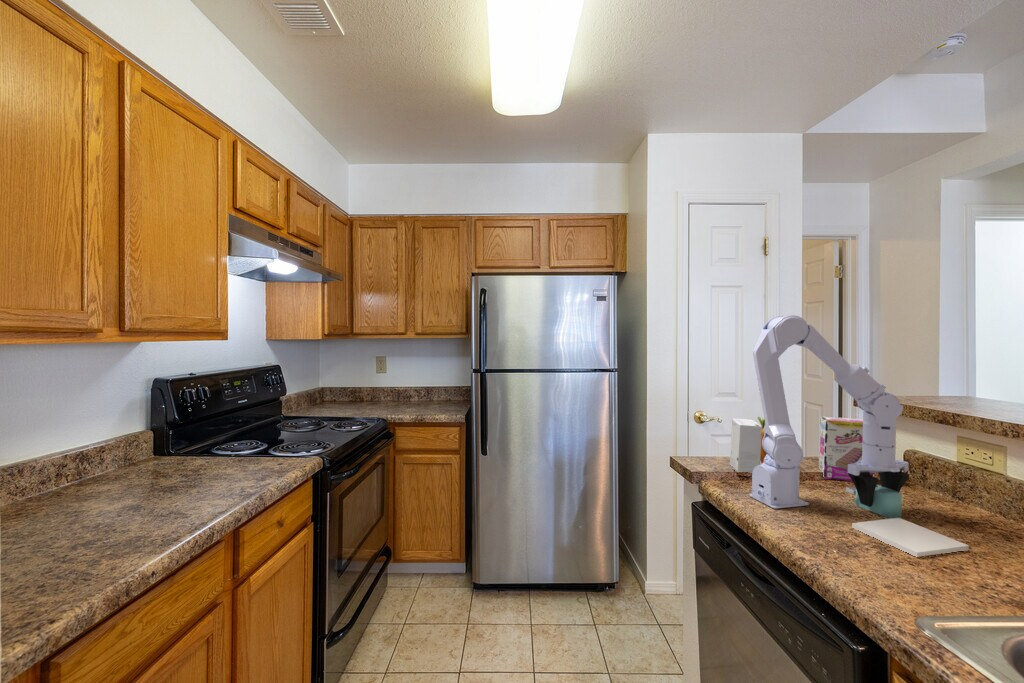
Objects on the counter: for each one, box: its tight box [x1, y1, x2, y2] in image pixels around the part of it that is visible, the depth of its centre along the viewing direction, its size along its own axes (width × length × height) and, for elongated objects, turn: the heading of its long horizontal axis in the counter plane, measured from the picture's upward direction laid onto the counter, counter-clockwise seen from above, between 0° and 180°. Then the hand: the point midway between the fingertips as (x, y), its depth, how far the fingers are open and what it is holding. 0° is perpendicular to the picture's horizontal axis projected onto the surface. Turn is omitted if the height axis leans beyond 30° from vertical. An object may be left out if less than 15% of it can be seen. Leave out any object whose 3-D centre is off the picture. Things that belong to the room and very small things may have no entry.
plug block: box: [845, 484, 903, 519], centre depth 99 cm, size 4×11×5 cm, turn 11°
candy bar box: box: [818, 416, 874, 482], centre depth 118 cm, size 11×5×16 cm, turn 71°
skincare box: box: [729, 417, 762, 473], centre depth 123 cm, size 8×6×15 cm
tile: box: [851, 517, 970, 558], centre depth 85 cm, size 12×12×1 cm
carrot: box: [757, 416, 767, 464], centre depth 129 cm, size 5×5×15 cm
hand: (877, 503), depth 98 cm, fingers open, 6 cm apart
